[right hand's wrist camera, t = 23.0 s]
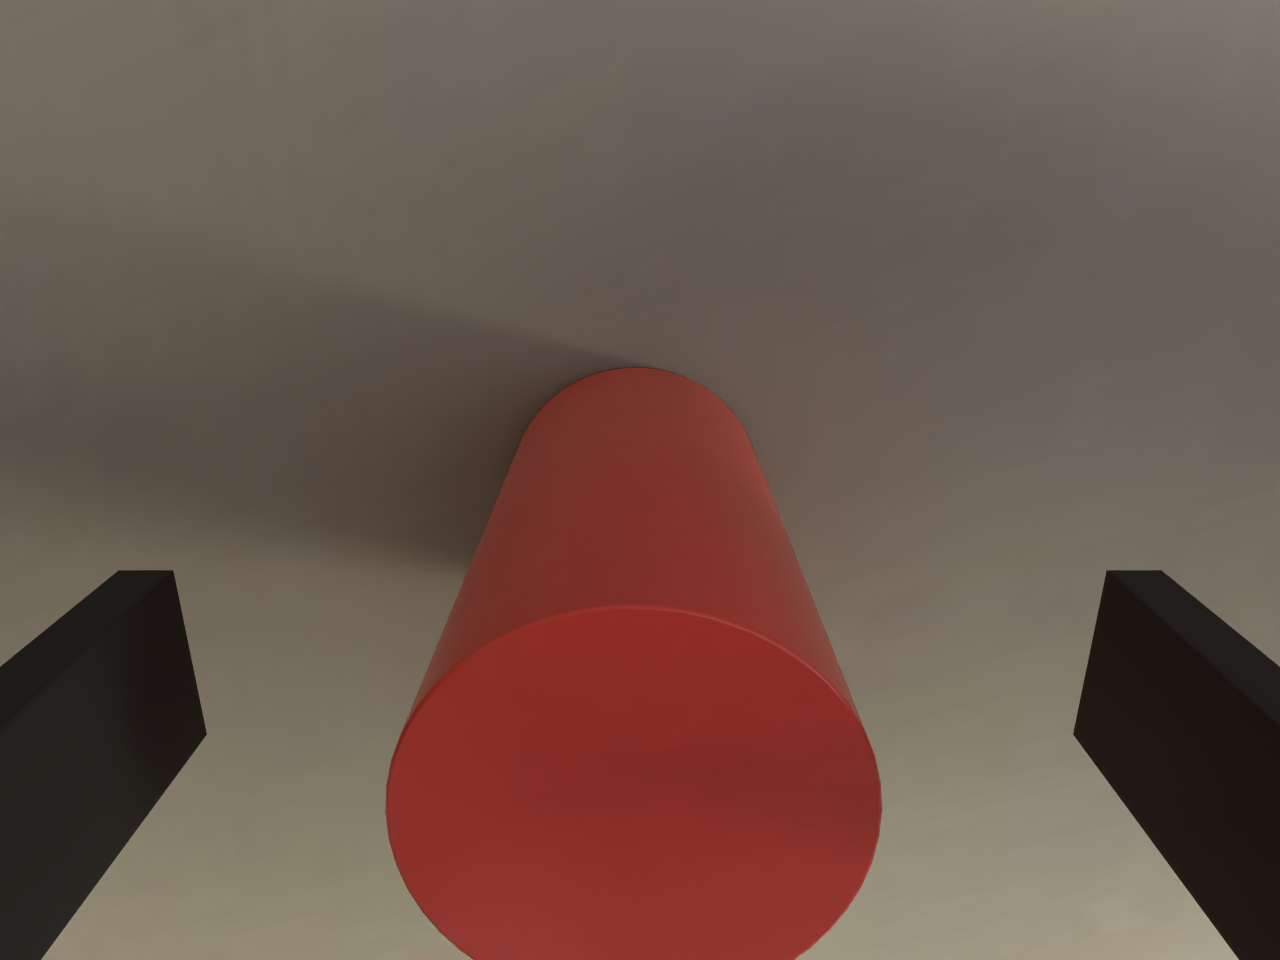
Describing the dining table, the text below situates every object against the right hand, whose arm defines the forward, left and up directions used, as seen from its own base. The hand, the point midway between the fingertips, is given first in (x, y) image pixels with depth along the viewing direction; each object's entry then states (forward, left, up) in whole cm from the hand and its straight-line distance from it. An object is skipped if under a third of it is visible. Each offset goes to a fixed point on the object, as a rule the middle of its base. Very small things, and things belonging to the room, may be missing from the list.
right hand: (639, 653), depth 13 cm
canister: (0, 0, -8) cm, 8 cm away
